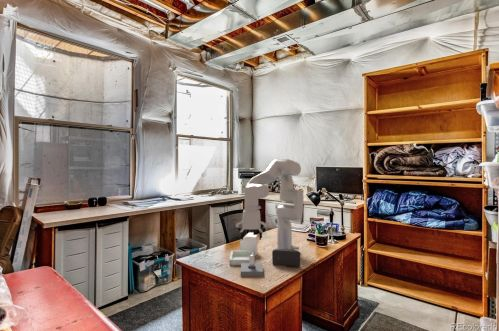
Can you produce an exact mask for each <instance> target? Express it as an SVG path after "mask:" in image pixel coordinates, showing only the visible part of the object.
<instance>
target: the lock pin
mask: <svg viewBox="0 0 499 331" xmlns="http://www.w3.org/2000/svg"><path fill="white" fill-rule="evenodd" d="M255 258H256V257H255V255H249V269H255V263H256V261H255V260H256V259H255Z"/></svg>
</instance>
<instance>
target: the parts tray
mask: <svg viewBox="0 0 499 331" xmlns="http://www.w3.org/2000/svg"><path fill="white" fill-rule="evenodd" d="M249 255H253V251H240V250H231V252H230V255H229V266H241V263H249Z"/></svg>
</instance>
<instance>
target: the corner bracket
mask: <svg viewBox="0 0 499 331" xmlns="http://www.w3.org/2000/svg"><path fill="white" fill-rule="evenodd" d="M239 251H253V255H255V256H257V254H258V235H257V234H254V232H248V233H246V234H245V235H244V236H243V240H242V239H241V240H240V241H239Z"/></svg>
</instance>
